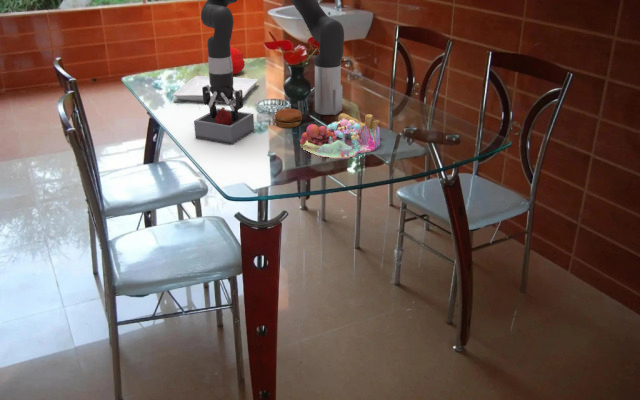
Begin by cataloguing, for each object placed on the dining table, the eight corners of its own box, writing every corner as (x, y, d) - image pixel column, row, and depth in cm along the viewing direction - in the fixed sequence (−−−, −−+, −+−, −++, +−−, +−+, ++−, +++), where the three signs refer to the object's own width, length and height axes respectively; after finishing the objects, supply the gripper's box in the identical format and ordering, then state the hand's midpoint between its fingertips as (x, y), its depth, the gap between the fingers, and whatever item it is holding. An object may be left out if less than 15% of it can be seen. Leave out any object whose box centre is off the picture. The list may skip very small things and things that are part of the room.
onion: (230, 133, 209) (227, 109, 206) (214, 133, 210) (210, 110, 208) (236, 128, 215) (233, 105, 212) (220, 128, 216) (216, 105, 213)
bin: (254, 130, 216) (253, 113, 213) (232, 144, 205) (230, 127, 202) (219, 124, 221) (217, 108, 219) (195, 138, 210) (193, 120, 207)
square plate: (242, 107, 239) (241, 97, 238) (172, 103, 243) (171, 93, 242) (259, 86, 263) (259, 77, 262) (195, 83, 267) (195, 74, 265)
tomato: (219, 84, 275) (245, 79, 283) (226, 63, 266) (253, 59, 273) (206, 63, 280) (232, 59, 287) (213, 41, 270) (240, 38, 278)
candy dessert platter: (321, 127, 220) (321, 101, 215) (388, 136, 212) (389, 110, 208) (292, 154, 199) (292, 125, 195) (365, 165, 191) (365, 136, 187)
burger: (287, 130, 217) (287, 117, 215) (269, 124, 223) (268, 110, 221) (308, 123, 223) (308, 110, 221) (290, 117, 229) (289, 104, 227)
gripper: (246, 69, 204) (248, 118, 211) (208, 64, 209) (212, 112, 216) (233, 75, 197) (236, 125, 205) (195, 70, 203) (199, 119, 210)
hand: (224, 119), depth 211 cm, fingers open, 7 cm apart
